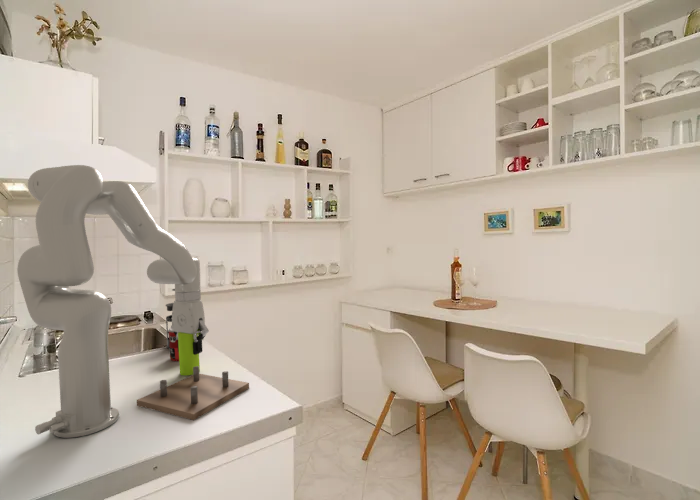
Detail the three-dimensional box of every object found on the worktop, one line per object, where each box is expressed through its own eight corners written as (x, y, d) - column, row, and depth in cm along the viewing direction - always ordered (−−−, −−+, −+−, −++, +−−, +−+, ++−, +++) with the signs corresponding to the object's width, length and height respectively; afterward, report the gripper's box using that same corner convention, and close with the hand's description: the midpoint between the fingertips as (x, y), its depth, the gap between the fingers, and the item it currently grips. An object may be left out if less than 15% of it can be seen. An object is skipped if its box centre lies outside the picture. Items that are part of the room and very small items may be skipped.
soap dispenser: (204, 368, 123) (201, 307, 123) (193, 375, 116) (190, 312, 116) (187, 368, 124) (184, 308, 123) (176, 375, 117) (173, 312, 116)
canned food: (171, 356, 137) (170, 326, 136) (195, 353, 139) (194, 324, 138) (168, 362, 129) (166, 331, 129) (193, 360, 132) (191, 329, 131)
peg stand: (193, 420, 89) (192, 397, 88) (136, 405, 97) (135, 384, 97) (249, 387, 107) (248, 369, 106) (197, 377, 115) (196, 360, 115)
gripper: (158, 296, 119) (161, 352, 120) (199, 300, 112) (201, 359, 113) (178, 293, 126) (180, 345, 127) (217, 296, 119) (219, 351, 120)
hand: (190, 351), depth 120 cm, fingers closed on soap dispenser, 5 cm apart
